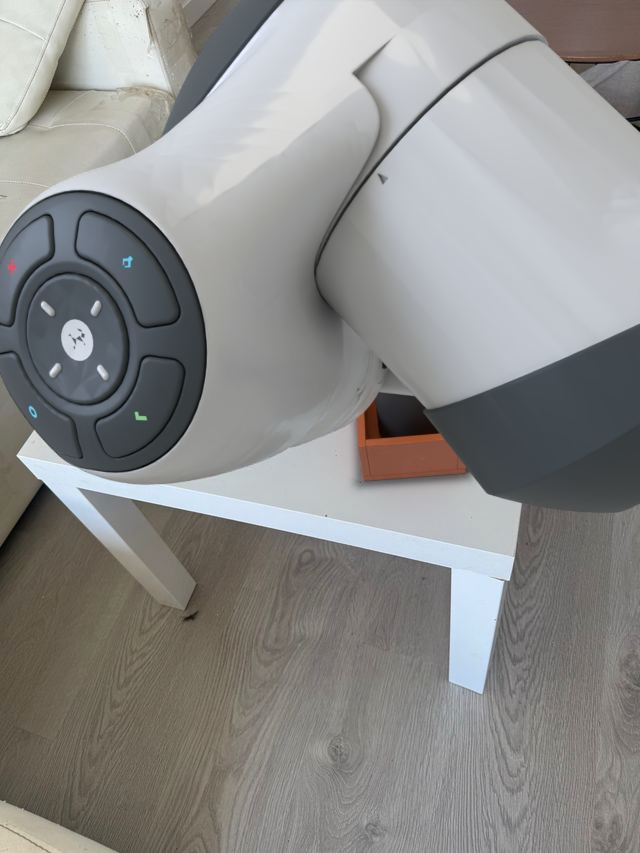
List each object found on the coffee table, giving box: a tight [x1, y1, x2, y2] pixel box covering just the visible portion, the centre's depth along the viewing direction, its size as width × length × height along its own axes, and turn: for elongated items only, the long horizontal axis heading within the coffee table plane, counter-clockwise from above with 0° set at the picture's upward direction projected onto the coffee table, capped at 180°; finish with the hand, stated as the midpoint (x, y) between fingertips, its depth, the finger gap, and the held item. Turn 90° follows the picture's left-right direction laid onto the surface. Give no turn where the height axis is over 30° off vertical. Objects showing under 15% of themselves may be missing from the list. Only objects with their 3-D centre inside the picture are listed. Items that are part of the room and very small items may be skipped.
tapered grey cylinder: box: [375, 392, 439, 438], centre depth 65 cm, size 6×6×12 cm
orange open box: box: [356, 399, 467, 482], centre depth 68 cm, size 12×10×6 cm
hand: (359, 350), depth 44 cm, fingers open, 8 cm apart
